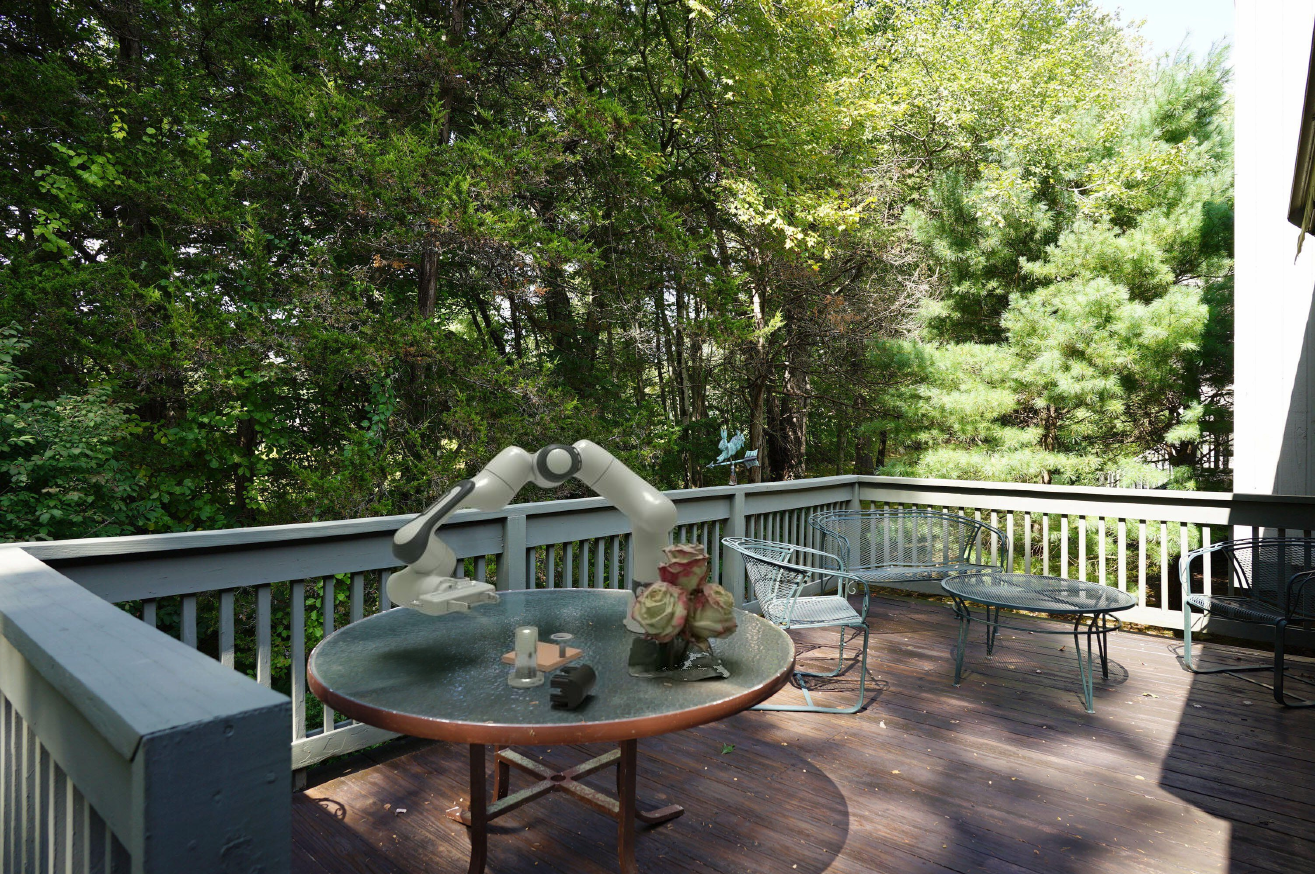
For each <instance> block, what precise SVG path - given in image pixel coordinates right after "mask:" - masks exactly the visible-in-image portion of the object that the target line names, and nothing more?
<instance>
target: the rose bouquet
mask: <svg viewBox="0 0 1315 874" xmlns="http://www.w3.org/2000/svg"><path fill="white" fill-rule="evenodd" d="M704 549H705V546H704V545H703V544H699V541H696V542H694V544H691V543H689V542H687V543H686V542H682V543H681V542H680V543H676V542H675V543H674V544H671V545H670V547H666V548H664V549H662V550H661V551H662V552H664V553H665V554H666V555H667V557H668V563H664V562H661V563H660V565H659V566H660V567H658V570H659V571H658V575H659V577H660V579H661V582H660V581H657V582H655V583H653V584H651V585H650V586H648V587H647V588H646V589H645V591H644V592H643V593H642V594H641V595H640V596H639V595H636V596H635V597H636V598H637V600H636V601H635V606H633V609H632V615H631V617H632V619H633V620H635V621H637V622H638V623H639V624H640V626H641V627H642V628H644V629H645V631H646V632H645V633H644V636H642V635H634V638H633V639H632V644H631V647H630V649H629V650H630V652H629V656H628V662H627V669H628V674H629V675H630V676H632V677H637V678H647V680H648V679H654V678H663V677H664V678H665V677H668V678H670V679H673V680H675V681H677V682H678V681H680V682H684V681H685V682H687V681H688V682H690V681H691V682H692V681H698V680H700V679H704V678H710V677H716V676H721V677H722V678H724V677H723V675H724V674H723V673H722V672H717V670H718V669H717V668H714V667H713V666H720V665H723V663H722V664H721V663H719V662H718V661H717V660H718V659H717V658H716V657H715V655H714V651H713V647H712V645H711V642H710V640H709V639H710V638H712V639H720V640H726V639H728V638H729V637H731V636H733V635H734V634H735V633H737V628H738V627H739V625H738V623H737V618H736V617H735V615H734V613H733V612H734V611H735V608H734V606H735V600H734V599H735V598H734V596H733V594H732V593H731V592H730V591H727V590H726V589H725V588H724V587H722V585H720V584H718V583H713V582H707V581H708V577H709V574H710V571H711V565H709V564H708V565H707V562H708V561H709V560H710V559H711V556H710V555H709V554H708V553H704V552H702V551H703V550H704ZM687 652H689V653H687ZM702 652H704V653H708V654H709V656H708V657H711V658H705V657H706V656H705V657H696V659H693V660H690V661H691V663H692V664H691V665H692V666H688V667H686V668H688V669H682V670H681V669H680V670H676V669H675V668H674V667H676V666H675V665H677V666H680V664H681V663H684V661H685V660H683V659H685V658H686V657H687V656H686V655H691V654H690V653H693V654H696V653H697V654H702ZM684 657H685V658H684ZM689 665H690V664H689ZM698 665H700V666H701V667H700V666H698ZM665 667H666V668H674V669H667V670H668V671H663V670H662V669H663V668H665ZM676 668H677V667H676ZM689 668H690V669H689ZM698 668H707V669H704V670H703V669H698ZM659 670H661V671H659ZM656 672H661V673H656ZM644 675H652V676H644ZM684 679H687V680H684Z"/></svg>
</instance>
